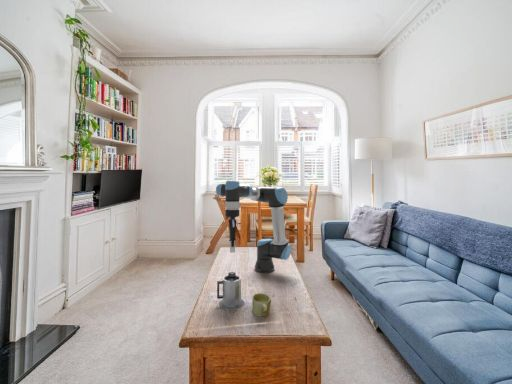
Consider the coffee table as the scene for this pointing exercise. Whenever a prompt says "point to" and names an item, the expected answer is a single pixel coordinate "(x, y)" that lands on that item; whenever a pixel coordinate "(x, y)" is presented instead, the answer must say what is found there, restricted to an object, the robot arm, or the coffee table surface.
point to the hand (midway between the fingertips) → (232, 252)
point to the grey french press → (230, 291)
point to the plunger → (231, 275)
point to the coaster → (231, 308)
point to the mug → (261, 304)
